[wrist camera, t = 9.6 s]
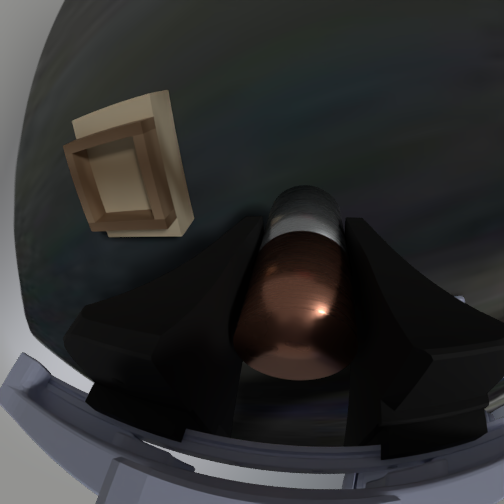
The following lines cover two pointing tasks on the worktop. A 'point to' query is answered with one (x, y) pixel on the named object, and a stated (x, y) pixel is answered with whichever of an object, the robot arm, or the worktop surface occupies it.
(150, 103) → the tan rectangular frame
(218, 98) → the worktop surface
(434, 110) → the worktop surface
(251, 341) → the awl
